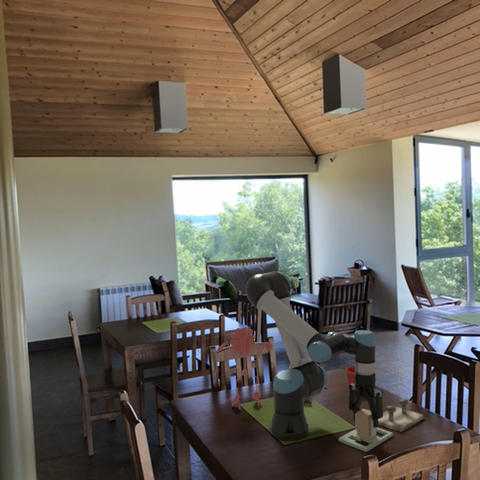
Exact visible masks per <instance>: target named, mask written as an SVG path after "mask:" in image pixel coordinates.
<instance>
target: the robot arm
mask: <svg viewBox="0 0 480 480" xmlns="http://www.w3.org/2000/svg"><path fill="white" fill-rule="evenodd" d="M292 288H293V287H292V281H291V280H290V278H289V276H288V275H287V274H286V273H284V272H282V271H270V272H265V273H258V274H254V275H252V276H251V277H249V279H248V280H247V282H246V284H245V288H244V289H245V291H244V292H245V294H246V297H247V299H248V301H249V302H250V303H251V305H252V306H253V307H255V309H257V310H258V311H263V312H264V313H265V314H267V316H269V317H270V318H272V319H273V321H274V323H275V324H276V327H277V330H278V334H279V335H280V338H281V342H282V344H283V347H284V350H285V352H286V355H287V358H288V361H289V363H290V364H289V366H288V369H283V370H280V371H278V372H277V373H276V374H274V377H273V384H272V385H273V387H272V388H273V390H274V393H273V403H274V404H273V407H274V410H273V416H272V419H271V423H270V427H269V429H270V431H269V432H270V434H271V435H272V436H273V437H274V438H277V439H279V440H283V441H284V440H285V441H286V440H287V441H296V440H297V441H298V440H301V439H304V438H306V437H307V436H308V435H309V433H310V429H309V427H310V426H309V423H308V421H307V418H306V414H305V406H304V405H305V404H304V402H305V401H304V400H306V399H308V398H310V397H312V396H314V395H317V394H318V393H319V394H320V393H321V392H322V391H324V389H325V388H326V385H327V383H328V376H327V372H326V370H325V368H324V367H323V366H321V365H320V364H319V363H323V362H326V361H328V360H329V361H330V360H331V359H333V358H335V357H337V356H339V355H342V354H346V355H351V356H354V366H355V371H356V372H355V382H356V383H355V384H354V383H353V384H350V385H348V389H349V395H348V396H349V399H348V410H350V411H352V413H353V420H354V421H355V429H354V430H356V431H357V412H358V411H360V410H361V409H360V408H361V405H362V402H363V398H366V402H367V403H368V406H369V411H371V414H372V418H371V436H374V435H375V436H377V433H378V432H377V428H379V425H378V419H380V418H382V417H383V413H384V409H383V394H384V392H383V391H382V390H378V389H377V387H376V380H377V379H376V338H375V337H376V336H375V333H374V332H373V331H372V330H366V329H365V330H364V329H359V330H355V332H354V334H352V333H351V334H349V333H343V332H339V331H329V332H327V334H326V335H325V336H323V335H322V334H321V333H320V332H318V331H317V330H316V329H315V328H314V327H313V326H311V325H310V324H309V323H308V322H306V321H305V320H304V319H303V318H302V317H300V316H299V315H298V314H297V313H296V312H295V311H294V310H293V308H292V306H291V304H290V302H291V299H292V296H291V294H290V293H291V291H292ZM356 389H357V391H358V392H356ZM319 394H318V395H319ZM318 395H317V396H318Z"/></svg>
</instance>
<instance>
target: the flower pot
mask: <svg viewBox="0 0 480 480" xmlns="http://www.w3.org/2000/svg"><path fill="white" fill-rule="evenodd" d="M345 371H346V373H345V374H346V378H347V384H348V386H349V385H350V384H353V383H354V384H355V383H356V382H355V372H356V371H355V365H353V366H348V367H347V368H345ZM357 392H358V391H357V389H356V393H357Z"/></svg>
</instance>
